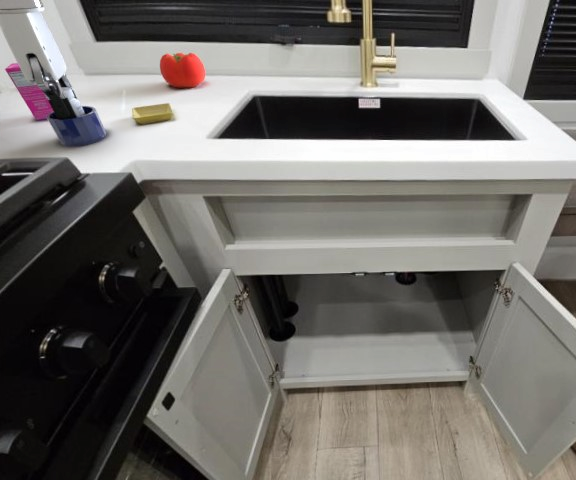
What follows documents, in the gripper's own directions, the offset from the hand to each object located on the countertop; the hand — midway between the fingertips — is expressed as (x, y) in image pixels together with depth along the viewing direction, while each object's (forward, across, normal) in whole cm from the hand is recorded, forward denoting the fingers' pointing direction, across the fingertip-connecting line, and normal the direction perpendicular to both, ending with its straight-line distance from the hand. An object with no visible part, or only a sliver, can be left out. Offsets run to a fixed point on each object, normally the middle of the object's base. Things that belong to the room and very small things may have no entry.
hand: (71, 115), depth 66 cm
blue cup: (+5, 0, 0) cm, 5 cm away
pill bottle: (+4, 0, 0) cm, 4 cm away
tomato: (+5, -36, +23) cm, 43 cm away
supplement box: (+5, -19, -10) cm, 22 cm away
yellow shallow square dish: (+5, -8, +14) cm, 17 cm away
